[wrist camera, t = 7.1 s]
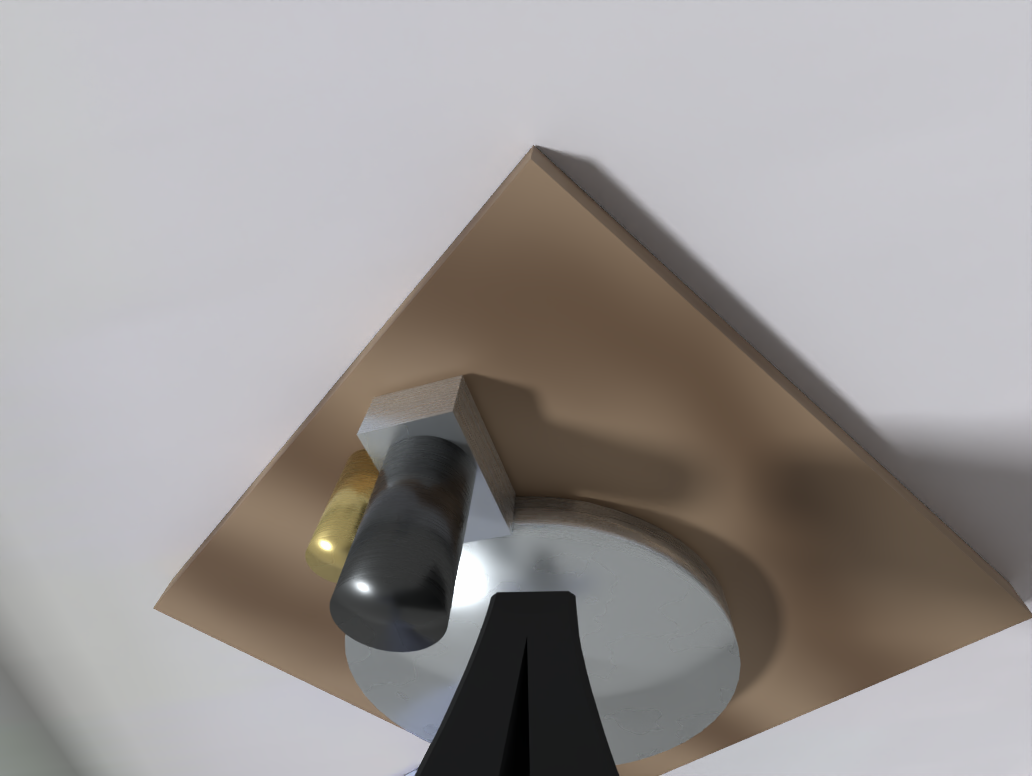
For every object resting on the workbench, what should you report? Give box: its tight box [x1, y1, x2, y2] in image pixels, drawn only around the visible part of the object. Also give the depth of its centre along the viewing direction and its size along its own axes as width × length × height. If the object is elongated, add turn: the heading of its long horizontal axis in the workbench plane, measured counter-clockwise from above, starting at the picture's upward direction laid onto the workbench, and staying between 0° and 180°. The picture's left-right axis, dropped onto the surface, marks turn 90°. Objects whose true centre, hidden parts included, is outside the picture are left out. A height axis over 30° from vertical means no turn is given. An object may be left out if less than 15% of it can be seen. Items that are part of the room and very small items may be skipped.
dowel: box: [305, 449, 379, 583], centre depth 16 cm, size 2×2×3 cm
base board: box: [153, 145, 1032, 776], centre depth 20 cm, size 20×20×1 cm
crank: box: [329, 375, 741, 765], centre depth 17 cm, size 16×12×6 cm
